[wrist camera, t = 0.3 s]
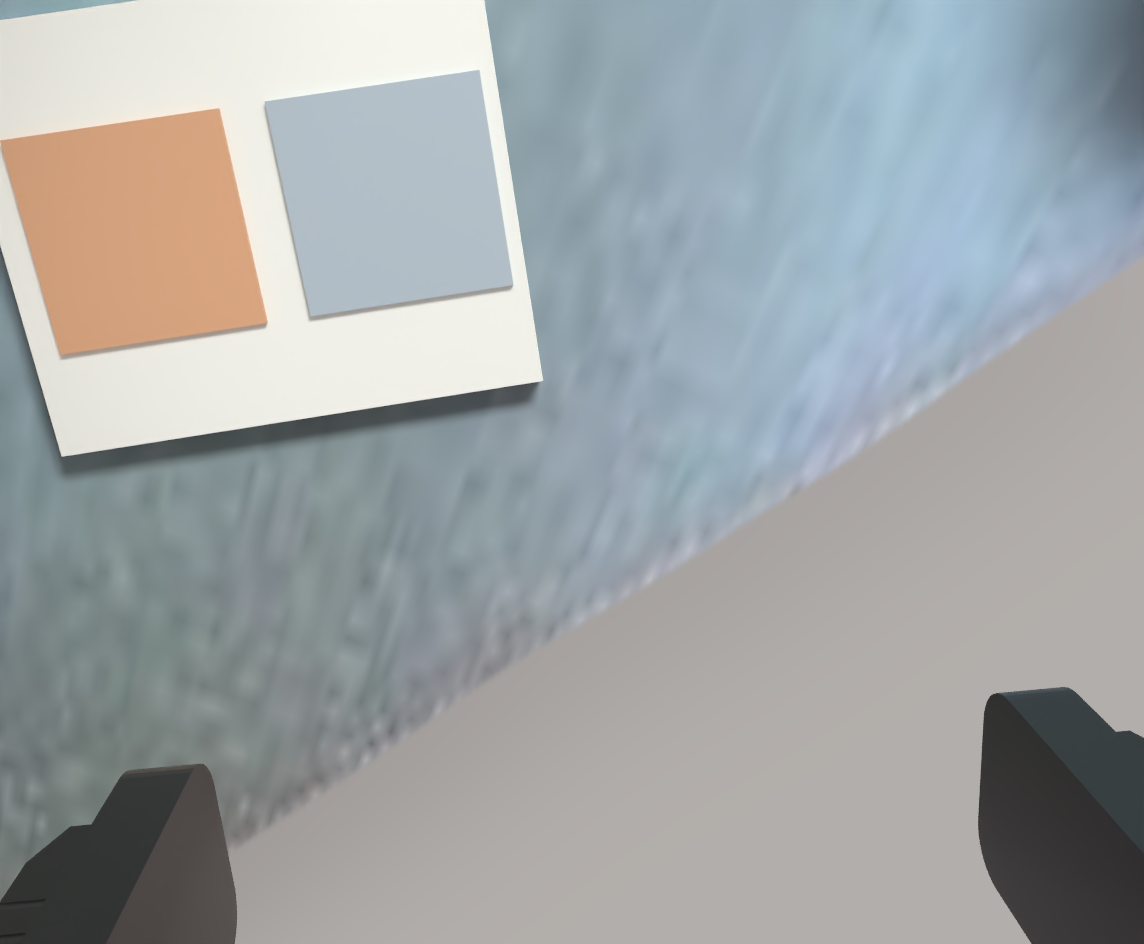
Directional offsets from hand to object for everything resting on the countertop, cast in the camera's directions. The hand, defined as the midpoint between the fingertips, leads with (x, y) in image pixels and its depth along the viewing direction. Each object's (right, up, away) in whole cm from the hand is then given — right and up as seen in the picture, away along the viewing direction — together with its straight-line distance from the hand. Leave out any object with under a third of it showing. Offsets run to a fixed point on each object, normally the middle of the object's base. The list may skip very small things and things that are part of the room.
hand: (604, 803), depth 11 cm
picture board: (-11, +12, +25) cm, 30 cm away
